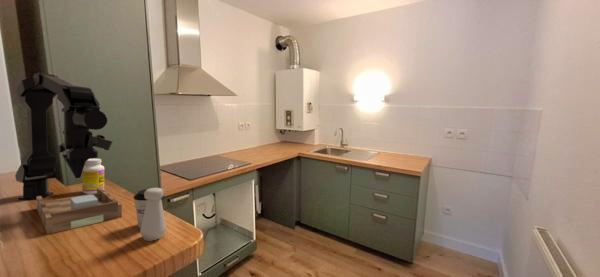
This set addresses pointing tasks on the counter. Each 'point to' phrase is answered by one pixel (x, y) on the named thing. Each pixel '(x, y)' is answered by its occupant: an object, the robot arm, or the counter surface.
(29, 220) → the counter surface
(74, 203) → the block
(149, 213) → the salt shaker
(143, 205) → the coffee cup
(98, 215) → the wooden tray
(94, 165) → the supplement bottle
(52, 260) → the counter surface
